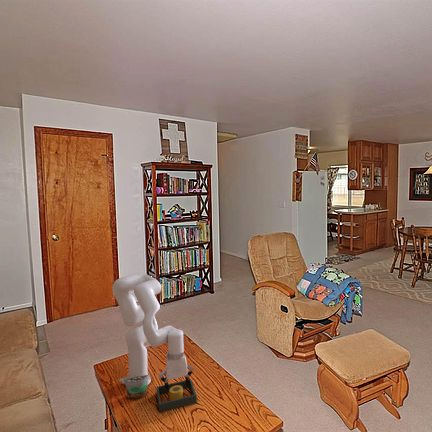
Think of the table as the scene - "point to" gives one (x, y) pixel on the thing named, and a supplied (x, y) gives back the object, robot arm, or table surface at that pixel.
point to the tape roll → (175, 392)
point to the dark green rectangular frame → (177, 402)
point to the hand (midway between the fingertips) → (177, 386)
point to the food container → (136, 387)
